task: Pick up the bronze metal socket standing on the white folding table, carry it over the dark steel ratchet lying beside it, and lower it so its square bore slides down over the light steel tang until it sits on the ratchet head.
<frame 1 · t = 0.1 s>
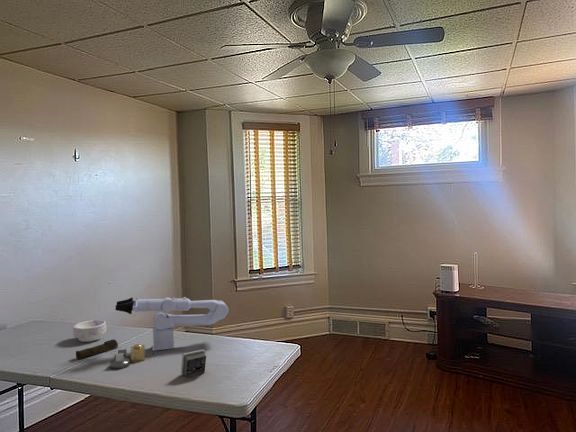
hand: (116, 305, 197), 22 cm above the table, tool horizontal, fingers open, 7 cm apart
electrical switch: (195, 374, 170), on the table
socket: (138, 358, 189), on the table
ratchet: (120, 366, 181), on the table
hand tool: (97, 354, 198), on the table
white bowl: (90, 339, 219), on the table
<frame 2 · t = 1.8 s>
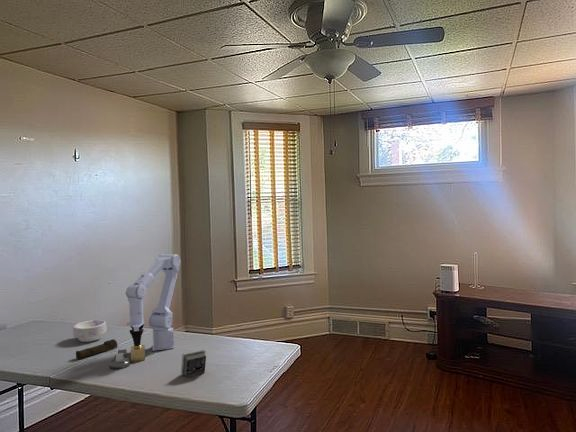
hand: (137, 343, 188), 7 cm above the table, tool pointing down, fingers open, 7 cm apart
nothing on the table moved.
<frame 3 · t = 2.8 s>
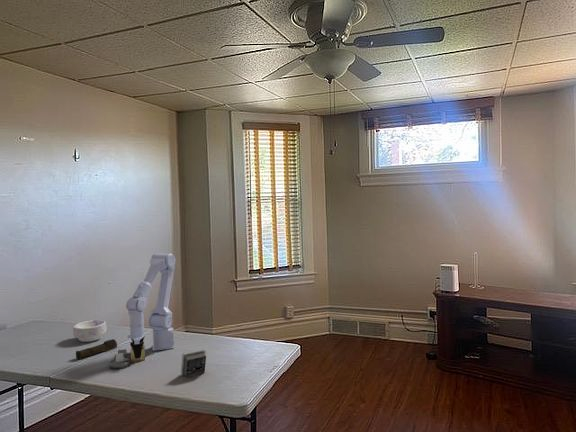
hand: (138, 355, 189), 1 cm above the table, tool pointing down, fingers closed on socket, 6 cm apart
socket: (138, 358, 189), on the table, touching gripper
everything else where it was.
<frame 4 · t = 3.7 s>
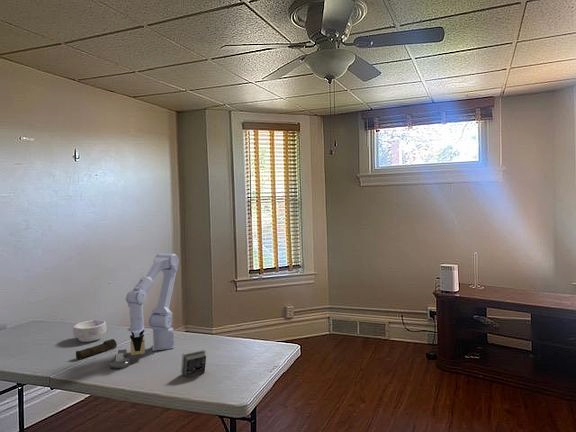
hand: (137, 348, 189), 4 cm above the table, tool pointing down, fingers closed on socket, 6 cm apart
socket: (138, 352, 189), point 3 cm above the table, touching gripper
everything else where it was.
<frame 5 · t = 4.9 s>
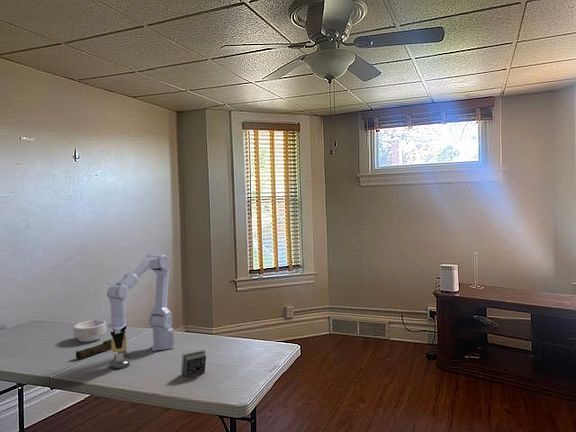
hand: (119, 345, 181), 8 cm above the table, tool pointing down, fingers closed on socket, 6 cm apart
socket: (119, 349, 181), point 7 cm above the table, touching gripper
everything else where it was.
when the fingers open (4 cm above the table, at t = 7.2 s): socket stays where it is, resting on ratchet.
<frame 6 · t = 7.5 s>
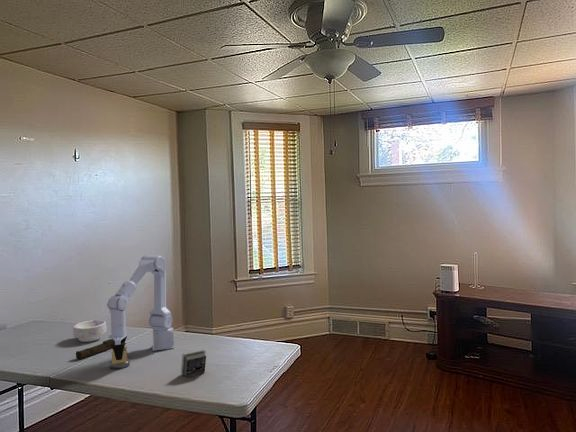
hand: (119, 356, 181), 4 cm above the table, tool pointing down, fingers open, 7 cm apart
socket: (119, 361, 181), point 2 cm above the table, touching ratchet
ratchet: (119, 366, 181), on the table, touching socket
everything else where it was.
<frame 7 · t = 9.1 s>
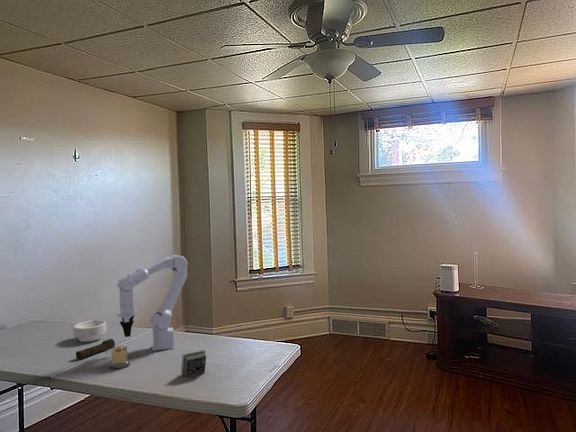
hand: (128, 334, 194), 9 cm above the table, tool pointing down, fingers open, 7 cm apart
nothing on the table moved.
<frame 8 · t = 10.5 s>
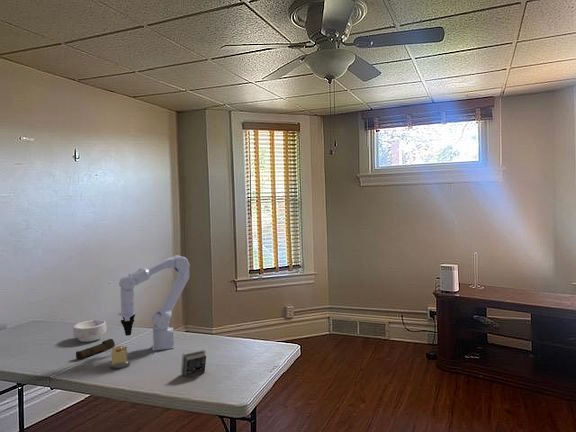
hand: (128, 332, 196), 9 cm above the table, tool pointing down, fingers open, 7 cm apart
at the end: socket 0.0 cm off-centre on the ratchet, point 2.0 cm above the ratchet's base; socket tilted 0°; ratchet moved 0.1 cm from its start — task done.
